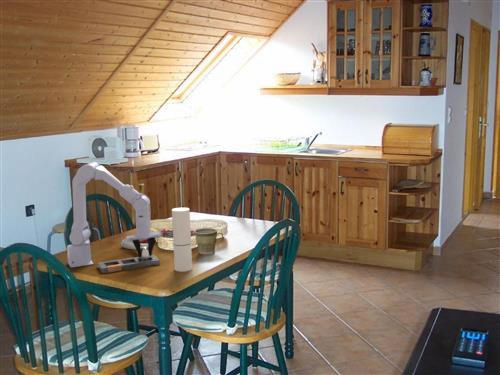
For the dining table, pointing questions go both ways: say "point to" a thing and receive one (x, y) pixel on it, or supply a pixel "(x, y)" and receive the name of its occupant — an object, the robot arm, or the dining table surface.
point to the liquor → (141, 190)
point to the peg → (144, 253)
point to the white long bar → (130, 244)
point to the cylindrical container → (182, 239)
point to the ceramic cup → (206, 240)
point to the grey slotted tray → (126, 264)
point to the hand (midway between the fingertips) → (144, 256)
